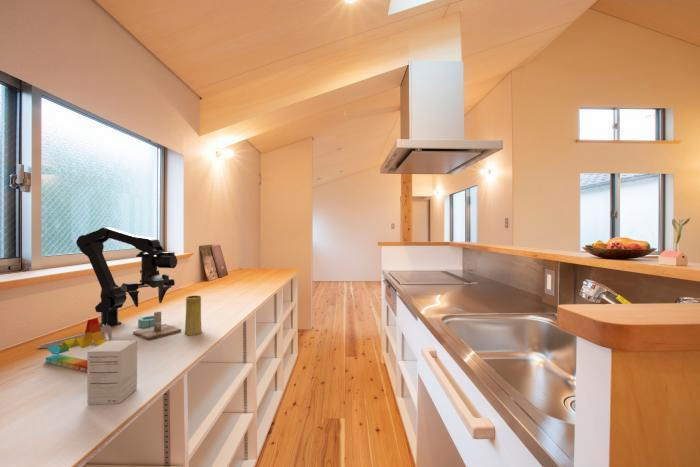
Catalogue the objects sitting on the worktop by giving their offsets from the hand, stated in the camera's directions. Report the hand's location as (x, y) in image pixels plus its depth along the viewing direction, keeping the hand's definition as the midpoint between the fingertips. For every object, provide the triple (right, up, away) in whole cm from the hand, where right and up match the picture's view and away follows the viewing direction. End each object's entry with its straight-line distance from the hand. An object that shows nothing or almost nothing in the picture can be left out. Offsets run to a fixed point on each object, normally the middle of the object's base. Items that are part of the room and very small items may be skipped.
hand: (148, 304), depth 134 cm
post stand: (+9, -9, -9) cm, 16 cm away
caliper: (-12, -9, -22) cm, 27 cm away
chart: (+8, -10, -41) cm, 43 cm away
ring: (0, -9, 0) cm, 9 cm away
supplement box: (+27, -10, -56) cm, 63 cm away
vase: (+23, -9, -9) cm, 26 cm away
